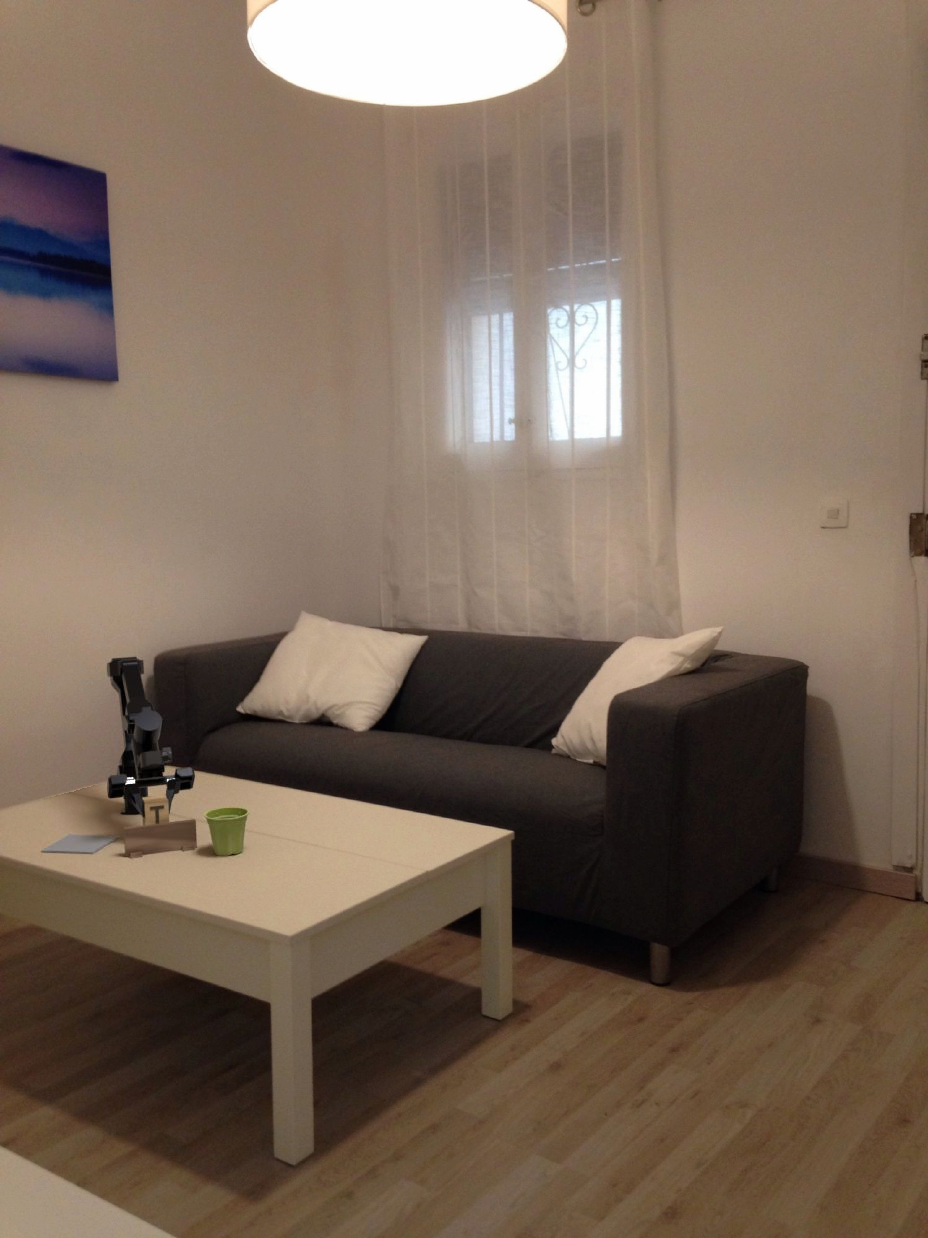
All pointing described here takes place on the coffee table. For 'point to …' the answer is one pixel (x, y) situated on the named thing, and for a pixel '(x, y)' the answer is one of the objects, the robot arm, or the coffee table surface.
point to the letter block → (155, 809)
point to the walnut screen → (160, 838)
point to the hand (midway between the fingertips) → (156, 815)
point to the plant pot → (227, 829)
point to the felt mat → (80, 844)
